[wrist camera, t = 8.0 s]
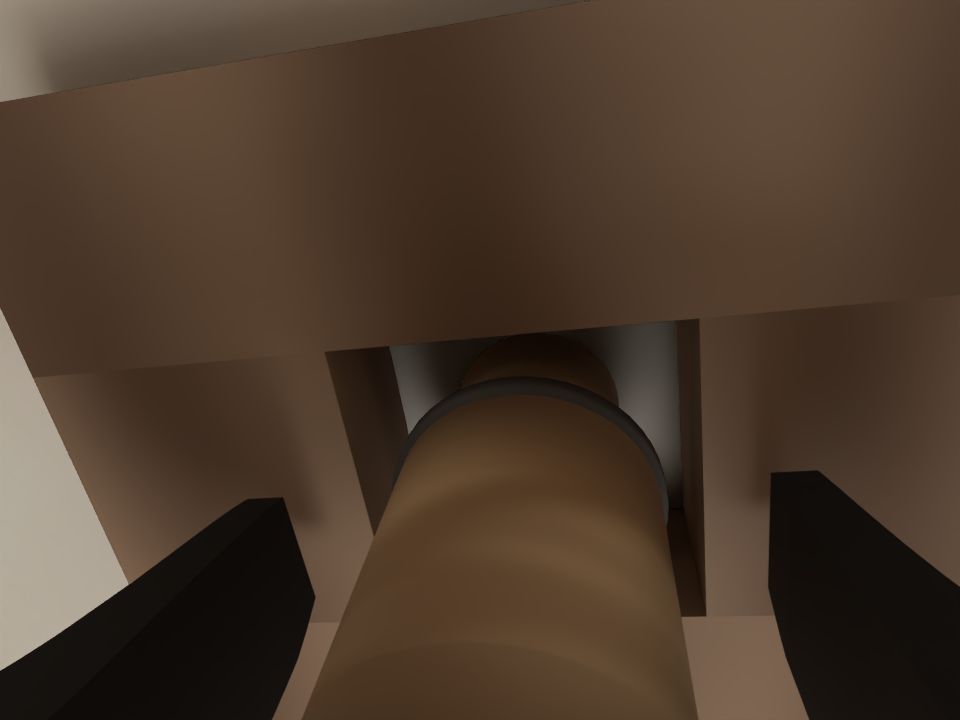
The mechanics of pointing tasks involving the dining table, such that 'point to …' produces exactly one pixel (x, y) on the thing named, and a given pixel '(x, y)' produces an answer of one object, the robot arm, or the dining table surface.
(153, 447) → the board
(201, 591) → the robot arm
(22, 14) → the dining table surface
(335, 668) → the peg
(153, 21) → the dining table surface
